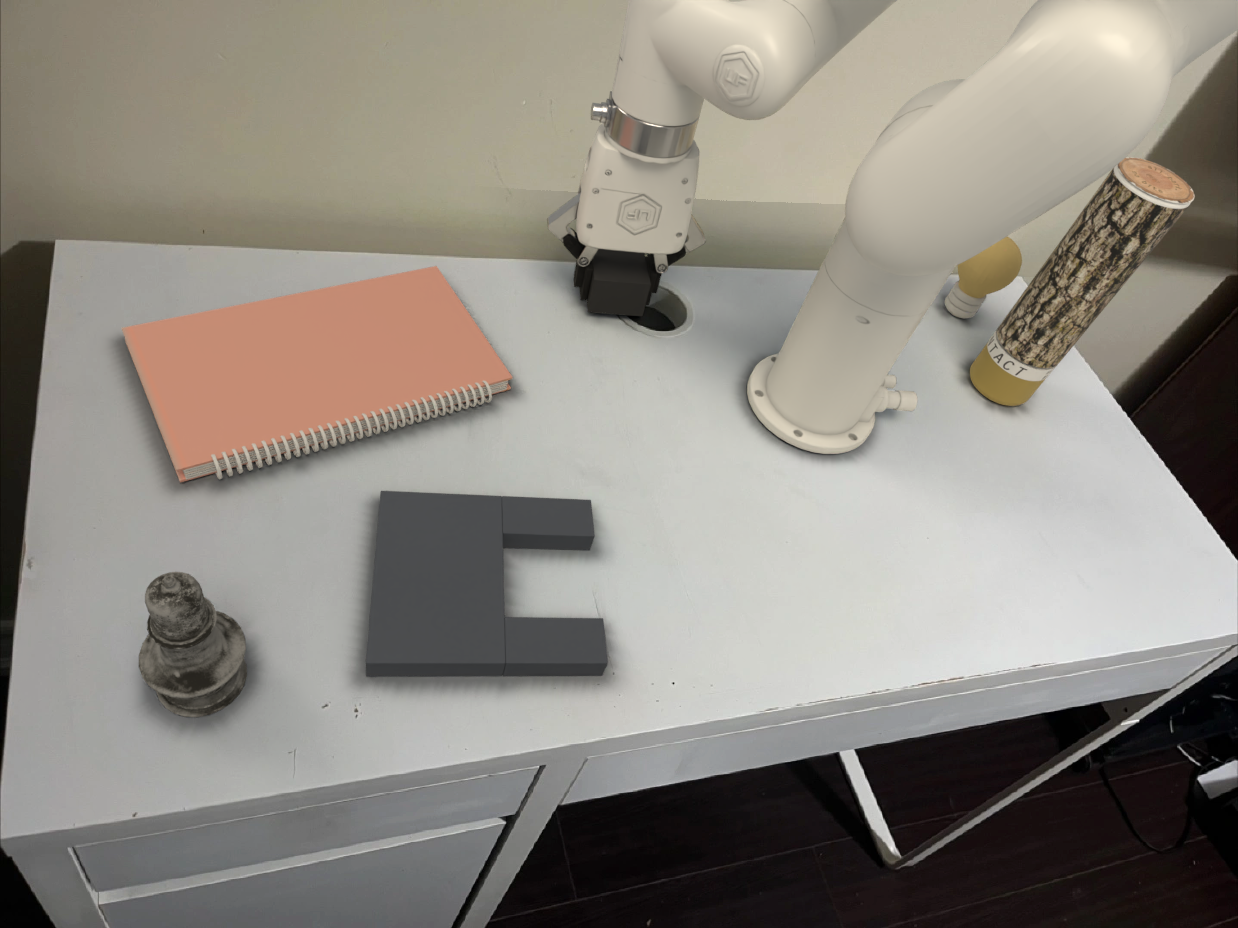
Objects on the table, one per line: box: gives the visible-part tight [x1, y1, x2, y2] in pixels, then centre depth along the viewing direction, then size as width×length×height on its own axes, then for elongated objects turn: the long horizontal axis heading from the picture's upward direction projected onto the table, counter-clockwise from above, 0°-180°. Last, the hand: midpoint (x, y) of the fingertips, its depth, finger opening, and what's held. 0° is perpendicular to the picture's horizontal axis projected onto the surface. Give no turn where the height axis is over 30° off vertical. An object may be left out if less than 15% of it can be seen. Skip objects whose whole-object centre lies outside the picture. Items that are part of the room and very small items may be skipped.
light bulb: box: [944, 235, 1023, 319], centre depth 95 cm, size 6×6×10 cm
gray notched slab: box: [365, 490, 609, 678], centre depth 62 cm, size 16×14×2 cm
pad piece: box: [585, 249, 651, 317], centre depth 85 cm, size 6×6×4 cm
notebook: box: [120, 265, 514, 483], centre depth 72 cm, size 27×17×2 cm, turn 122°
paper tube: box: [969, 156, 1196, 407], centre depth 82 cm, size 7×7×25 cm
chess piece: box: [138, 571, 248, 718], centre depth 50 cm, size 6×6×12 cm
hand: (613, 292), depth 86 cm, fingers closed on pad piece, 5 cm apart
